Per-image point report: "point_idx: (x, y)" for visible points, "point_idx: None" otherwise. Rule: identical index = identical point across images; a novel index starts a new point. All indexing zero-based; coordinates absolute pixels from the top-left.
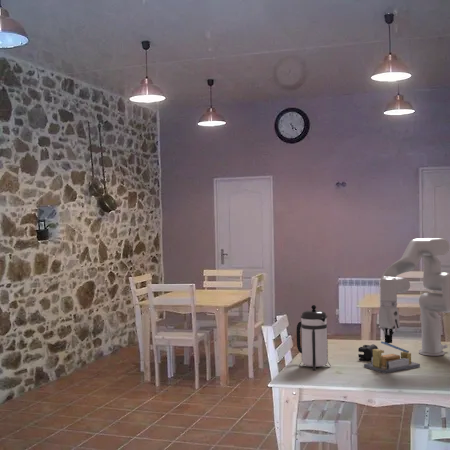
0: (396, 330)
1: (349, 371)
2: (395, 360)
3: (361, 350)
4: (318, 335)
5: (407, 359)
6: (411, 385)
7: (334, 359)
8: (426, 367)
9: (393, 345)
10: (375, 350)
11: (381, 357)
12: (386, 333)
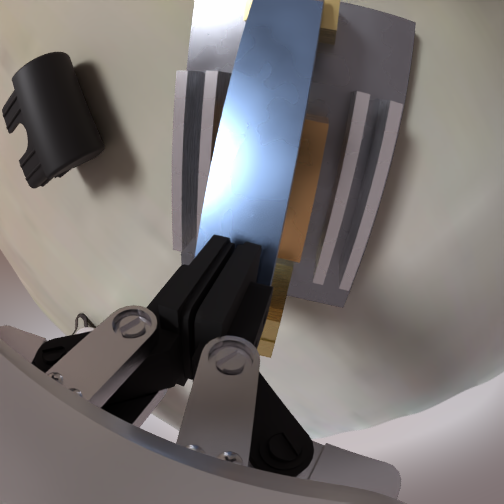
0: (388, 493)
1: None
2: (344, 209)
3: (47, 179)
4: None
5: (399, 119)
6: (492, 353)
7: (48, 234)
8: (437, 11)
9: (283, 219)
10: None
11: (283, 306)
12: (169, 381)
